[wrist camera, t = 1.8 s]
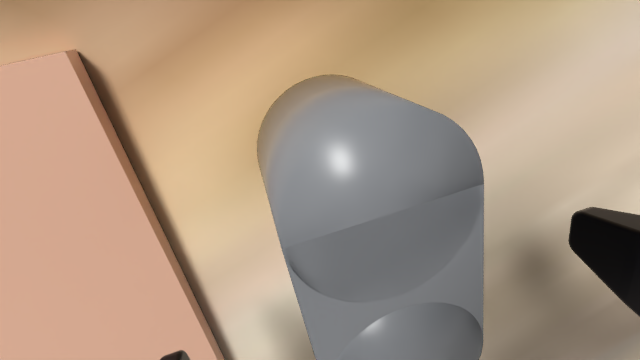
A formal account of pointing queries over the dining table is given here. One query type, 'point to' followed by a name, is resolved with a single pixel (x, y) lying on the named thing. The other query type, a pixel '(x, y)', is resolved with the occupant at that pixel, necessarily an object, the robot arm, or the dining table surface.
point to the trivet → (81, 232)
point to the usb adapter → (376, 221)
